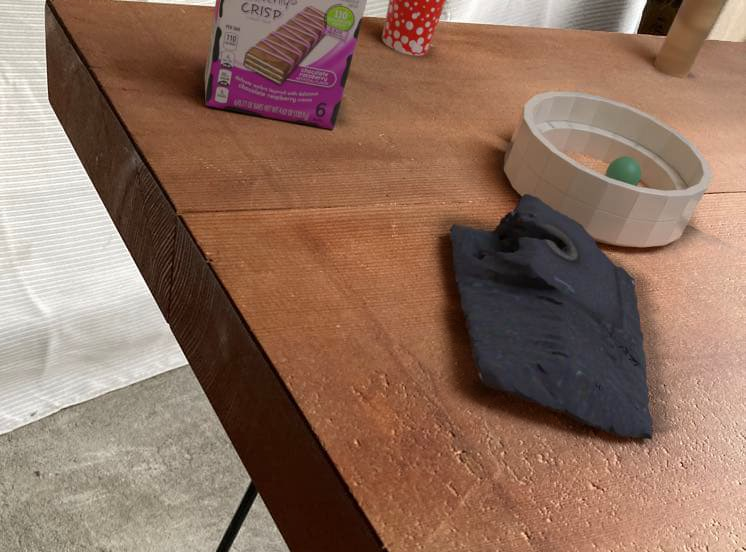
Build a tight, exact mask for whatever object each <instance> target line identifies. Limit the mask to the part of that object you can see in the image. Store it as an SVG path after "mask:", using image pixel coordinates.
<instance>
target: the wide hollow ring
mask: <svg viewBox="0 0 746 552" xmlns="http://www.w3.org/2000/svg"><path fill="white" fill-rule="evenodd" d="M564 152H569V153H574V154H581V155H585V156H588V157H591V158H594V159H597V160H601V161H604V162H605V163H608V164H610V163H611V162H612V161H614V160H615V159H617V158H619V157H631V158H633V159H635V160H636V161H637V162H638V164H639V165H640V168H641V179H640V181H641V183H643V184H644V185H645V186H646V187H643V186H638V185H637V186H634V185H631V184H628V183H624V182H621V181H618V180H615V179H611V178H609V177H607V176H606V175H604V174H603V173H600V172H598V171H596V170H594V169H592V168H589V167H587V166H585V165H583V164H581V163H579V162H578V161H577V160H575V159H573V158H571V157H570V156H568V155H567V154H565V153H564ZM503 157H504V159H503V160H504V161H503V171H504V173H505V175H506V178H507V179H508V181H509V183H510V185H511V187H512V188H513V190H515V191H516V192H517V194H519V195H520V197H521V198H522V197H523V196H524V194H530V195H532V196H535V197H538V198H539V199H540V200H542V201H543V202H544V203H545V204H547V205H548V206H550V207H551V208H553V209H554V210H556V211H558V212H560V213H561V214H563V215H566V216H568V217H569V218H571V219H573V220H575V221H576V222H578V223H579V224H581V225H582V226H583V227H584V229H585V230H586V231H587V232H588V233H589V234H590V235H591V236H592V238H594V240H595V242H597V243H601V244H606V245H609V246H617V247H624V248H651V247H661V246H666V245H668V244H670V243H673V242H674V241H677V240H678V239H680V238H681V236H682V234H683V233H684V231H685V229H686V227H687V226H688V224H689V222H690V220H691V219H692V216H693V215H694V213H695V211H696V209H697V207H698V206H699V204H700V202H701V200H702V198H703V196H704V195H705V193H706V192H707V190H708V188H709V186H710V184H711V181H712V179H713V172H712V169H711V166H710V165H711V164H710V162H709V161H708V159H706V157H705V155H704V154H703V153H702V152H701V151H700V150H699V148H698V147H697V146H696V145H695V144H694V143H693V142H691V141H690V140H689V139H688V138H687V137H685V136H684V135H683V134H682V133H680V131H678V130H676V129H675V128H673V127H671V126H669V125H668V124H666V123H664V122H662V120H659V119H657V118H656V117H654V116H653V115H650V114H648V113H646V112H643V111H641V110H639V109H637V108H635V107H632V106H630V105H628V104H625V103H622V102H620V101H615V100H612V99H610V98H606V97H603V96H600V95H596V94H595V95H594V94H589V93H584V92H577V91H560V90H559V91H555V90H554V91H553V90H551V91H547V92H542V93H539V94H535V95H533V96H532V97H531V98H530V99H529V100H527V102H525V104H524V105H523V107H522V109H521V113H520V115H519V117H518V120H517V123H516V125H515V128H514V131H513V133H512V136H511V139H510V141H509V143H508V146H507V149H506V152H505V154H504V156H503Z"/></svg>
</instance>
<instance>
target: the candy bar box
mask: <svg viewBox="0 0 746 552" xmlns="http://www.w3.org/2000/svg"><path fill="white" fill-rule="evenodd" d="M367 2H368V0H215V3H214V10H213V18H212V25H211V30H210V37H209V45H208V51H207V57H206V64H205V65H206V66H205V72H204V95H205V105H206V106H207V107H211V108H217V109H221V110H228V111H232V112H233V111H234V112H238V113H243V114H247V115H252V116H259V117H264V118H270V119H275V120H280V121H287V122H290V123H296V124H302V125H307V126H313V127H318V128H323V129H329V130H334V129H335V126H336V123H337V120H338V119H337V118H338V116H339V115H338V114H339V111H340V106H341V103H342V99H343V95H344V92H345V87H346V84H347V81H348V77H349V72H350V69H351V64H352V60H353V56H354V53H355V49H356V47H357V46H356V45H357V41H358V38H359V34H360V30H361V26H362V21H363V17H364V14H365V11H366V10H365V9H366V6H367Z"/></svg>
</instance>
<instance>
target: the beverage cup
mask: <svg viewBox="0 0 746 552" xmlns="http://www.w3.org/2000/svg"><path fill="white" fill-rule="evenodd" d="M446 2H447V0H388V5H387V9H386V15H385V20H384V24H383V29H382V35H381V39H382V42H383V43H384V44H385V45H386V46H387V47H389V48H391V49H392V50H394V51H396V52H399V53H402V54H406V55H409V56H419V57H420V56H423V55H426V54H427V53H428V52H429V49H430V46H431V44H432V41H433V38H434V37H435V32H436V30H437V27H438V24H439V21H440V18H441V17H442V16H441V15H442V14H443V10H444V8H445V6H446Z"/></svg>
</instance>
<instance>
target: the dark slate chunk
mask: <svg viewBox="0 0 746 552" xmlns="http://www.w3.org/2000/svg"><path fill="white" fill-rule="evenodd" d="M449 232H450V235H449V239H450V242H451V250H452V259H453V261H452V262H453V272H454V273H455V276H454V280H455V282H456V283H457V286H456V289H457V292H458V293H459V295H460V305H461V312H462V314H463V317H464V318H465V327H466V328H467V333H468V337H469V341H470V342H469V343H470V346H471V353H472V354H471V355H472V361H473V365H474V368H475V370H476V372H477V374H478V377H479V379H480V381H481V383H483V385H484V386H485V387H487V388H491V389H495V390H498V391H501V392H503V393H506V394H509V395H513V396H514V397H515V398H518V399H520V400H523V401H525V402H531V403H534V404H536V405H538V406H540V407H542V408H545V409H547V410H552V411H555V412H556V411H557V412H560V413H562V414H563V415H565V416H567V417H569V418H571V419H573V420H574V421H575V422H577V423H581V424H584V425H586V426H589V427H594V428H596V429H598V430H601V431H604V432H607V433H610V434H611V435H614V436H616V437H622V438H624V437H628V438H632V439H636V438H637V439H638V438H643V439H647V440H653V436H654V435H653V432H654V431H653V430H654V428H653V418H652V414H651V410H650V408H649V403H650V396H649V393H650V391H649V387H648V383H647V382H648V377H647V375H648V374H647V360H646V353H645V350H644V346H643V345H644V333H643V332H642V327H641V315H640V311H639V308H638V306H639V305H638V296H637V294H636V284H635V281H636V280H635V278H634V277H632V276H631V275H630V274H629V273H628V272H627V270H626V269H625V268H623V267H622V266H617V265H616V264H615V263H614V262H613V261H612V259H610V258H609V257H608V255H607V254H605V253H604V252H603V251H602V249H600V247H598V244H597V243H596V242H597V241H595V240H594V238H592V236H591V235H590V234H589V233H588V232H587V231H586V230H585V229H584V227H583V226H582V225H581V224H579V223H578V222H576V221H575V220H573V219H571V218H569V217H568V216H566V215H563V214H561V213H560V212H558V211H556V210H554V209H553V208H551V207H550V206H548V205H547V204H545V203H544V202H543V201H542V200H540V199H539V198H538V197H535V196H532V195H530V194H524V196H523V197H522V196H521V198H520V199H519V200H518V202H517V204H516V206H515V207H514V209H513V210H512V211H508V213H506V214H505V215H504V216H503V217H501V218H500V220H499V224H498V225H496V227H495V229H493V230H490V229H489V230H486V229H482V228H481V229H480V228H479V229H477V228H474V227H472V226H467V225H461V224H456V223H453V224H452V225H451V226H450V228H449Z"/></svg>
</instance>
